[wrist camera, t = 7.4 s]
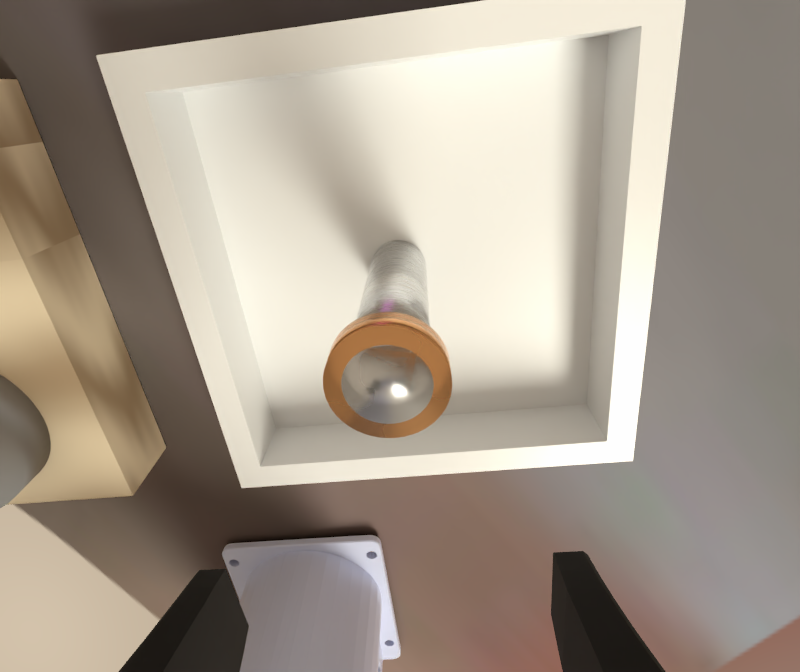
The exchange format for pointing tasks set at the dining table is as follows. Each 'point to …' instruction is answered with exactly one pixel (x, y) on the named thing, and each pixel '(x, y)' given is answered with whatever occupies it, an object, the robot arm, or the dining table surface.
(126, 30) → the dining table surface
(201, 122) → the tray
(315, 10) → the dining table surface
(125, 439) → the block
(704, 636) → the dining table surface
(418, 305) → the pin
